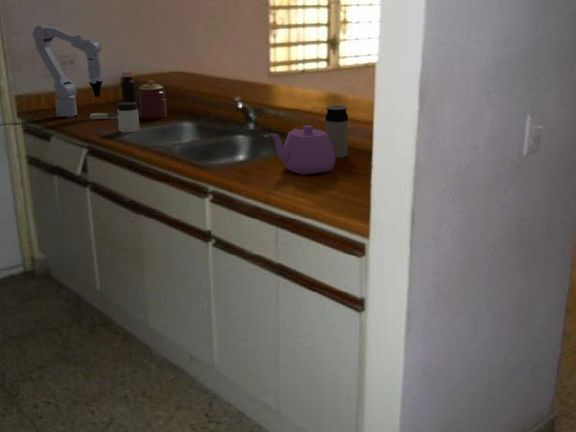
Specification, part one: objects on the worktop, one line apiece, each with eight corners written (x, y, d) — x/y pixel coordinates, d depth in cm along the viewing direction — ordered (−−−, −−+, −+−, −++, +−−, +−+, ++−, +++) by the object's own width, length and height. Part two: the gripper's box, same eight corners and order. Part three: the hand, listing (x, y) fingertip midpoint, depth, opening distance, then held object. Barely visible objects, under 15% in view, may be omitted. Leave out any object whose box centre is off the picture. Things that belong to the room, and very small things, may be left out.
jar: (117, 130, 298) (114, 102, 294) (135, 127, 302) (132, 101, 298) (123, 133, 291) (121, 105, 287) (141, 131, 295) (139, 103, 291)
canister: (152, 120, 318) (149, 82, 312) (134, 117, 326) (130, 80, 320) (172, 116, 328) (170, 79, 322) (154, 113, 335) (151, 77, 330)
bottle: (121, 113, 337) (117, 72, 331) (128, 111, 343) (124, 71, 337) (133, 114, 335) (129, 73, 329) (140, 111, 341) (136, 71, 335)
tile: (108, 116, 329) (106, 118, 323) (91, 116, 328) (89, 119, 322) (108, 112, 328) (106, 115, 322) (91, 113, 327) (89, 115, 321)
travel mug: (349, 157, 244) (350, 108, 238) (327, 158, 243) (328, 108, 237) (344, 152, 252) (345, 104, 246) (323, 153, 251) (323, 105, 245)
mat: (80, 120, 320) (80, 119, 320) (84, 115, 334) (84, 114, 333) (119, 119, 323) (119, 118, 323) (122, 113, 336) (121, 113, 336)
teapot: (314, 159, 243) (314, 117, 238) (342, 173, 225) (342, 128, 220) (255, 166, 235) (253, 123, 230) (278, 181, 216) (277, 135, 211)
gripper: (101, 69, 314) (104, 98, 319) (104, 66, 328) (107, 94, 332) (85, 69, 313) (88, 99, 318) (89, 66, 327) (92, 94, 331)
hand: (97, 96), depth 325 cm, fingers closed
